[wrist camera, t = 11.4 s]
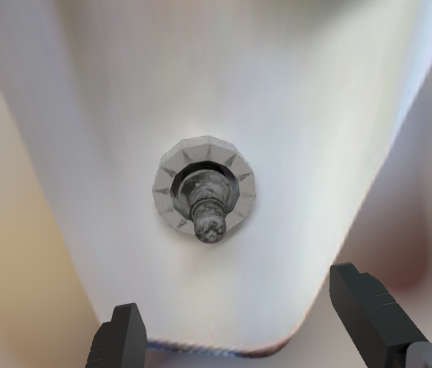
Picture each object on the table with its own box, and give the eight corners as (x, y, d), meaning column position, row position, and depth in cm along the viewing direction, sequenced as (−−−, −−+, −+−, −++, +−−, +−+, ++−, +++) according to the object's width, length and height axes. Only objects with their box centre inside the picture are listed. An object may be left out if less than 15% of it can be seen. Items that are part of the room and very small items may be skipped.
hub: (145, 146, 33) (142, 155, 30) (243, 129, 33) (249, 136, 31) (170, 237, 38) (169, 252, 36) (254, 222, 39) (260, 235, 36)
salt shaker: (228, 202, 37) (246, 267, 26) (180, 205, 37) (178, 272, 26) (228, 157, 35) (248, 207, 24) (176, 159, 34) (173, 212, 23)
